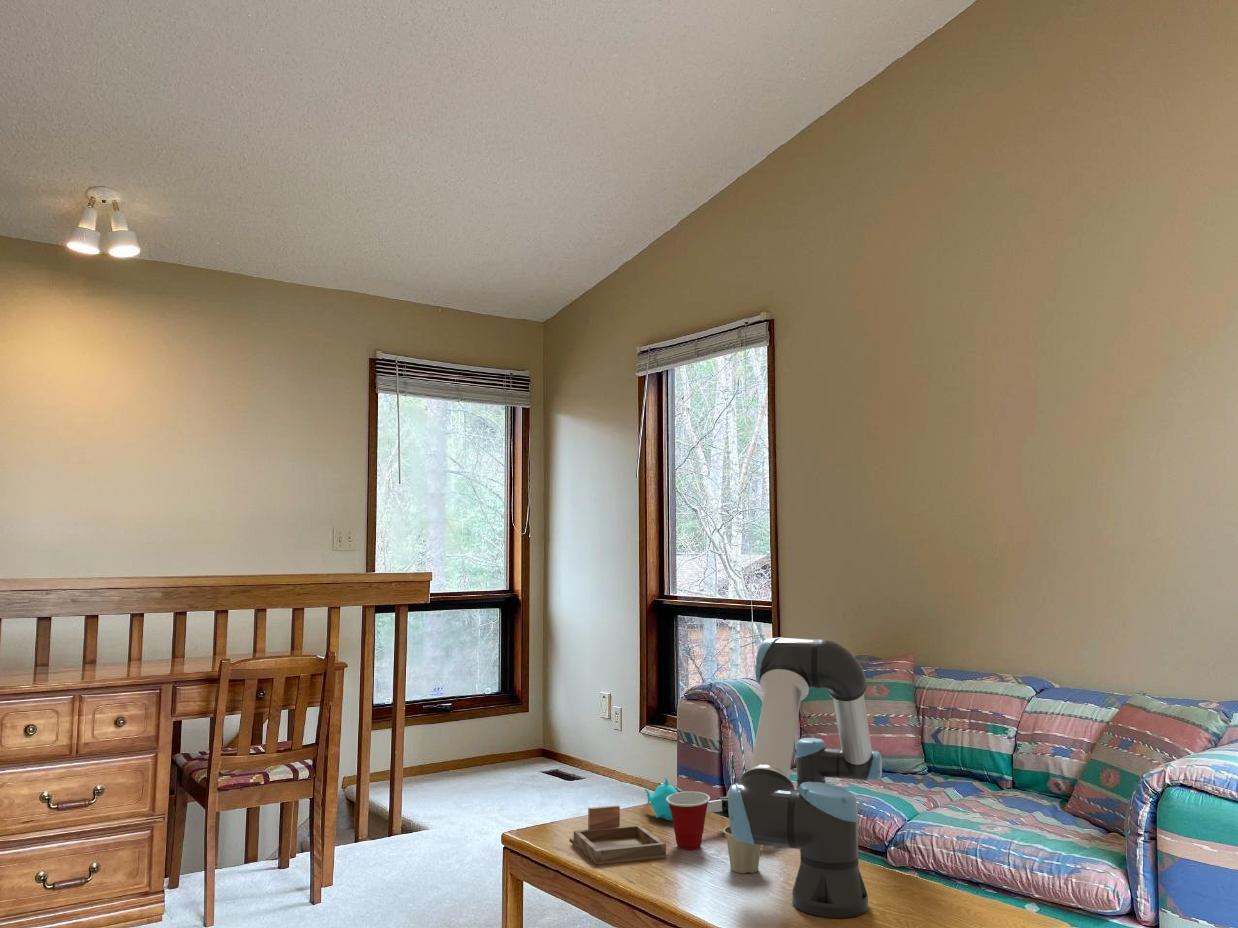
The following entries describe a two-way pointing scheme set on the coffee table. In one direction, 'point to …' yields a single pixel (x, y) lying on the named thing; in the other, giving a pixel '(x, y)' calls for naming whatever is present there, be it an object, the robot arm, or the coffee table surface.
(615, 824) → the cup dock
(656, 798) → the toy shark
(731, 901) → the coffee table surface
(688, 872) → the coffee table surface
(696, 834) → the plastic cup
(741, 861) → the flower pot
